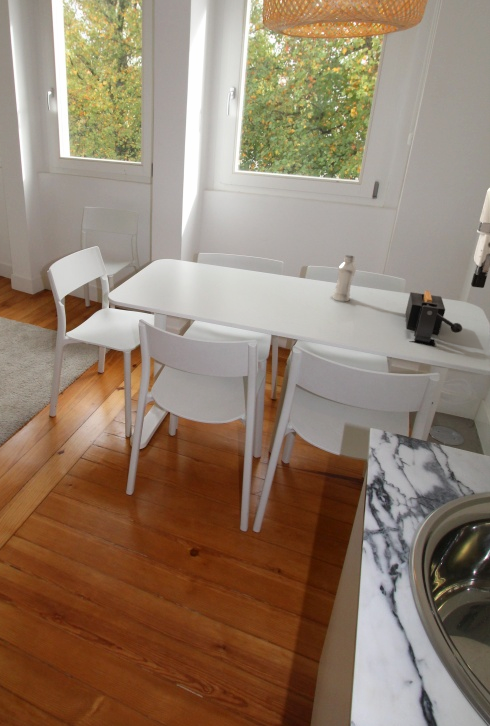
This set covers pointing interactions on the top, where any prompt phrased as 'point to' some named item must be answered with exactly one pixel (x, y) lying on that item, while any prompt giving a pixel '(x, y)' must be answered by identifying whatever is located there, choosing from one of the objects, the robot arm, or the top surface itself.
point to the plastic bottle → (344, 279)
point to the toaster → (414, 310)
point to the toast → (427, 297)
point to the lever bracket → (425, 324)
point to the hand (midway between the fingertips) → (477, 286)
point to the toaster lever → (450, 323)
